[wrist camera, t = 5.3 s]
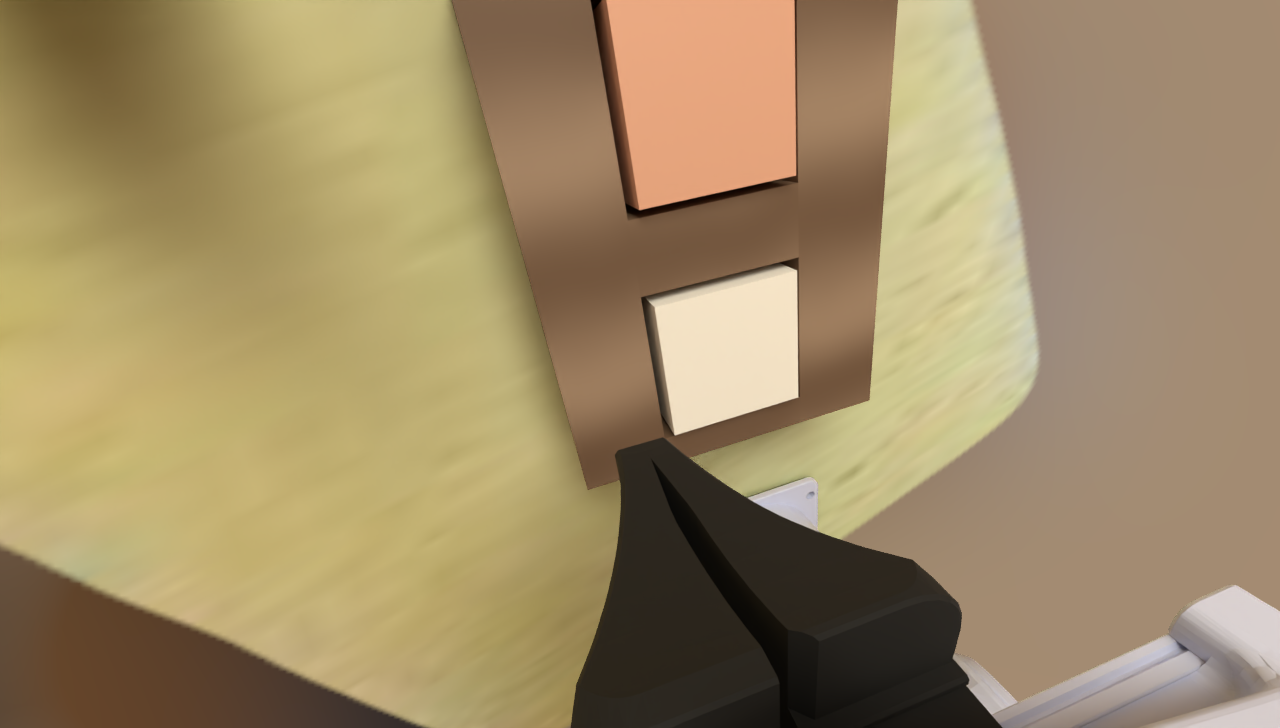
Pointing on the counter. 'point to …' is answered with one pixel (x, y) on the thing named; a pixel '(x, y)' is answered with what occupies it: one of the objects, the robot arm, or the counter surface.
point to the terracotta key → (698, 94)
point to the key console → (684, 216)
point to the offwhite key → (724, 346)
